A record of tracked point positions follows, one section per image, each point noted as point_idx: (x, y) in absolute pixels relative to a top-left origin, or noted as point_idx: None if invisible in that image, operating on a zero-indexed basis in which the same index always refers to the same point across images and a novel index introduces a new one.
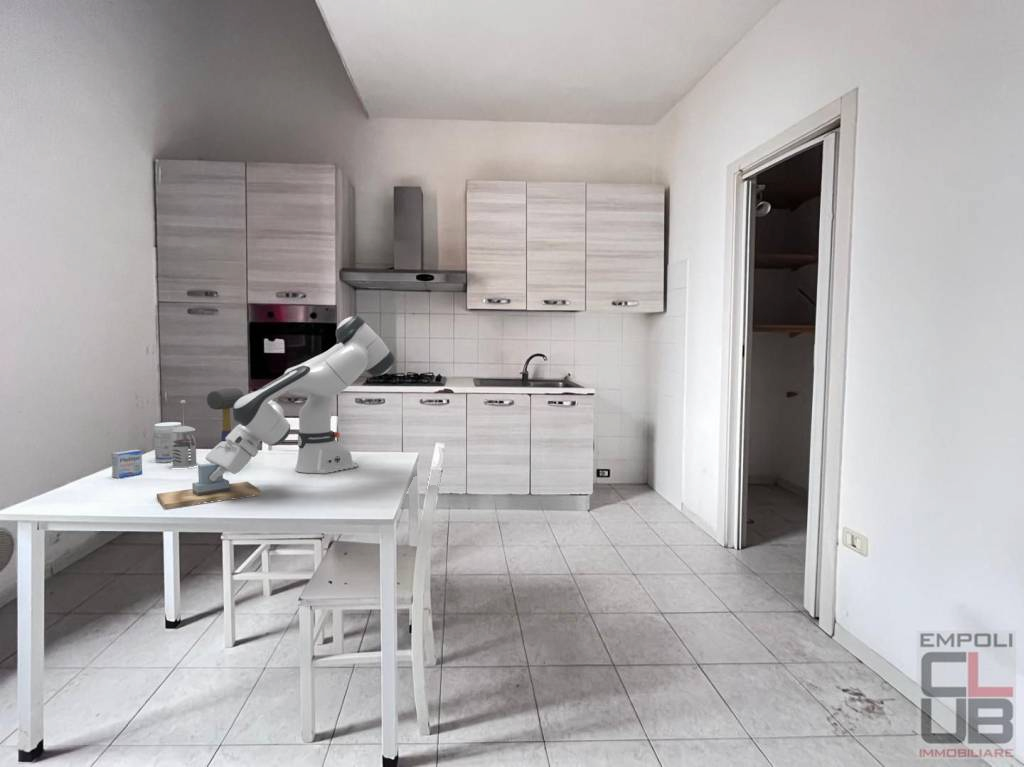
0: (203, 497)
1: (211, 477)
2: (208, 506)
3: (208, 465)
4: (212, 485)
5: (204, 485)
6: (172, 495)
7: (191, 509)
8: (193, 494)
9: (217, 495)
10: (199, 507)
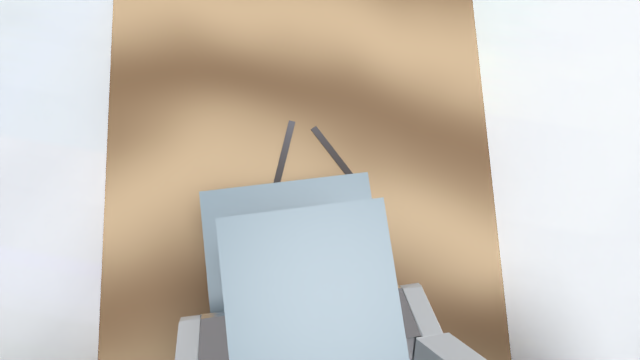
0: (142, 236)
1: (182, 338)
2: (9, 249)
3: (239, 337)
4: None
5: (205, 257)
6: (356, 53)
7: (8, 131)
8: None
9: (139, 352)
10: (26, 187)
